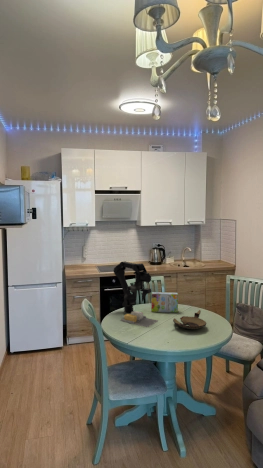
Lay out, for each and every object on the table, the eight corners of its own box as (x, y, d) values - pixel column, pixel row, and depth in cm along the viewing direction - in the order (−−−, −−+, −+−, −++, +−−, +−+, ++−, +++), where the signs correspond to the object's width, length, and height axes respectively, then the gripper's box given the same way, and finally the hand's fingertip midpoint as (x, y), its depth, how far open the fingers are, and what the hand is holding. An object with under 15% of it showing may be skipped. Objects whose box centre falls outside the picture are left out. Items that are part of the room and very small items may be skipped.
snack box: (177, 310, 256) (177, 292, 255) (177, 312, 251) (178, 294, 250) (151, 309, 258) (151, 291, 257) (151, 311, 253) (151, 293, 252)
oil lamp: (165, 326, 220) (165, 315, 220) (195, 318, 238) (195, 308, 237) (188, 336, 202) (189, 325, 202) (219, 327, 220) (219, 316, 219)
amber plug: (133, 322, 223) (133, 317, 223) (123, 320, 228) (123, 314, 228) (136, 321, 226) (136, 315, 226) (126, 318, 232) (126, 313, 231)
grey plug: (140, 319, 230) (140, 314, 230) (129, 317, 235) (129, 311, 235) (143, 318, 233) (143, 312, 233) (132, 315, 239) (132, 310, 238)
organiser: (120, 322, 228) (120, 318, 228) (132, 316, 241) (132, 313, 241) (147, 329, 215) (147, 325, 214) (158, 322, 228) (158, 319, 227)
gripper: (122, 280, 236) (122, 301, 237) (143, 283, 225) (143, 305, 226) (131, 278, 245) (131, 297, 246) (151, 281, 234) (151, 301, 235)
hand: (139, 300), depth 238 cm, fingers open, 6 cm apart
